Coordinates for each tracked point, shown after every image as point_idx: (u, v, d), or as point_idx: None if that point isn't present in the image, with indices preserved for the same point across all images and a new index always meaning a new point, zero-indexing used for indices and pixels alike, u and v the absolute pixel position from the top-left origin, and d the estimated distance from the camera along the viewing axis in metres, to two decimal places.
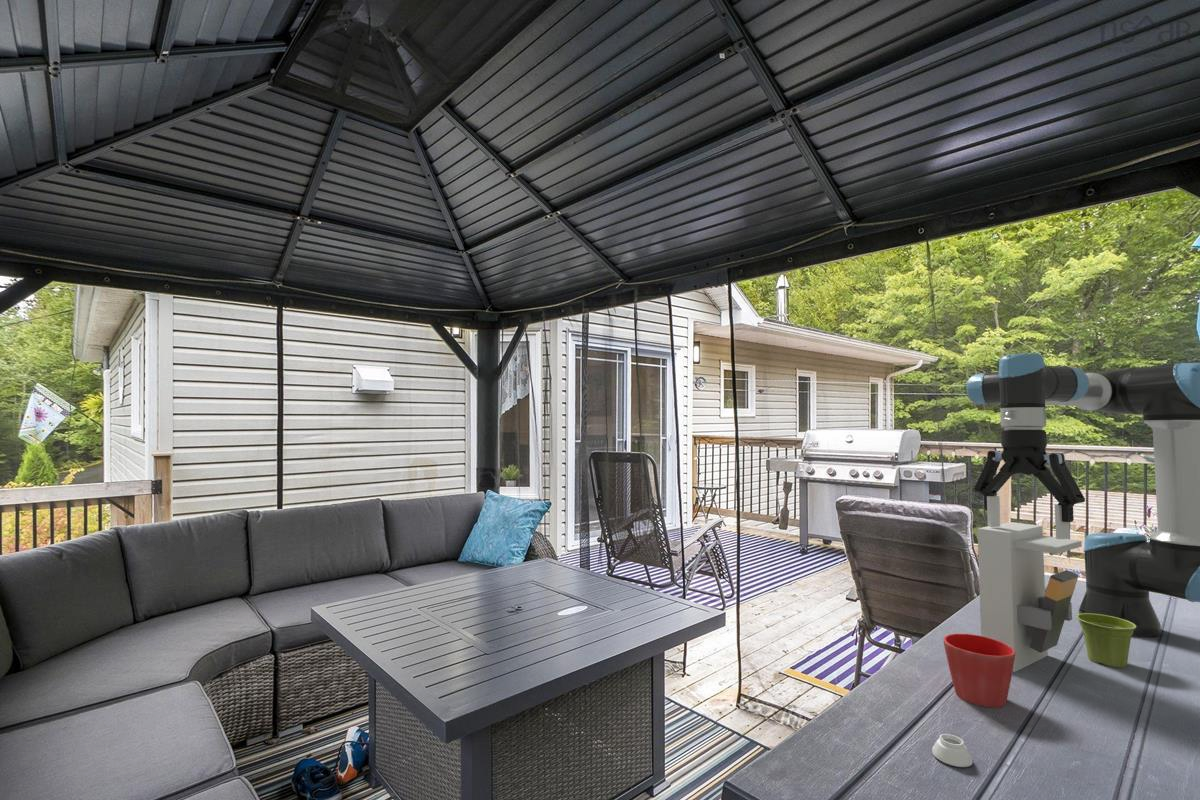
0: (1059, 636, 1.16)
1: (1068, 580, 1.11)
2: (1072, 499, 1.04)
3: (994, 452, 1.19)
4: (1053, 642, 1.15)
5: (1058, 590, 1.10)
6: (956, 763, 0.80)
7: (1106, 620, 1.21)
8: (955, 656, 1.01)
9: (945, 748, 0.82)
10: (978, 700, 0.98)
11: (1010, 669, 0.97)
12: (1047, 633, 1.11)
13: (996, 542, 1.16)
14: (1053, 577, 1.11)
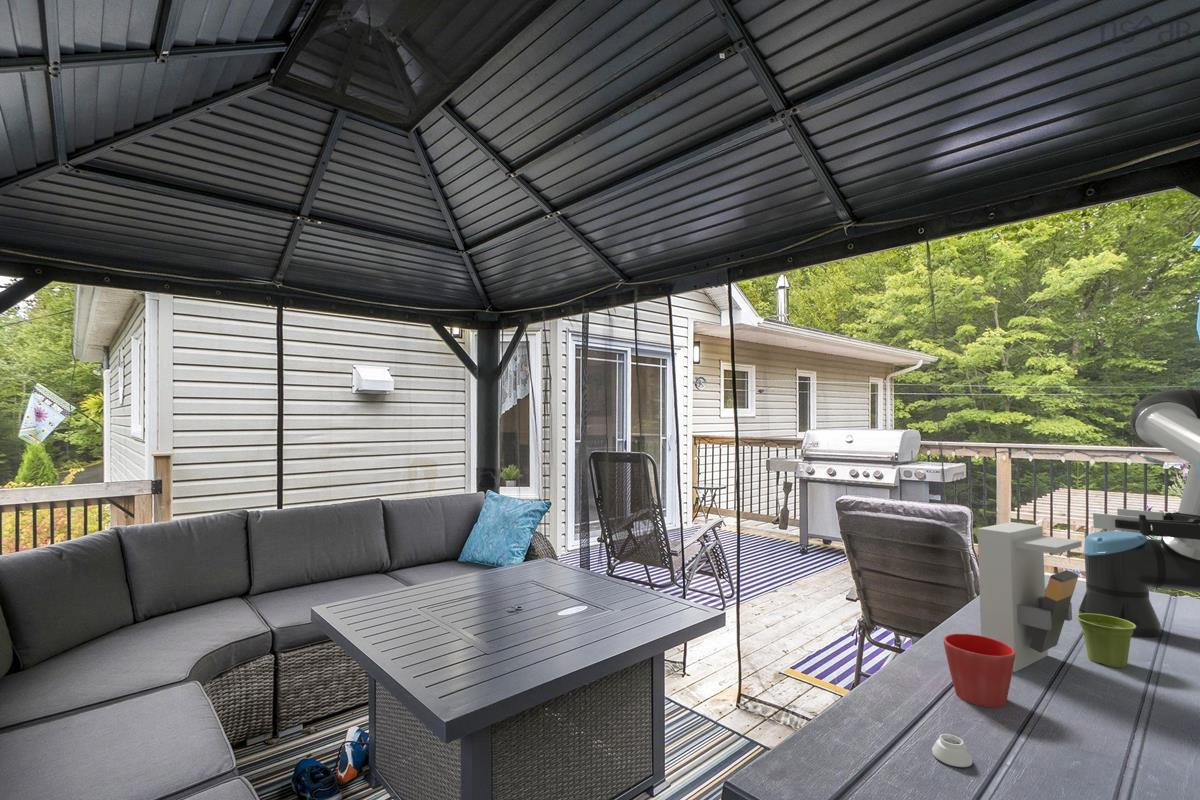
0: (1059, 636, 1.16)
1: (1068, 580, 1.11)
2: None
3: None
4: (1053, 642, 1.15)
5: (1058, 590, 1.10)
6: (956, 763, 0.80)
7: (1106, 620, 1.21)
8: (955, 657, 1.01)
9: (945, 748, 0.82)
10: (978, 700, 0.98)
11: (1010, 669, 0.97)
12: (1047, 633, 1.11)
13: (996, 542, 1.16)
14: (1053, 577, 1.11)
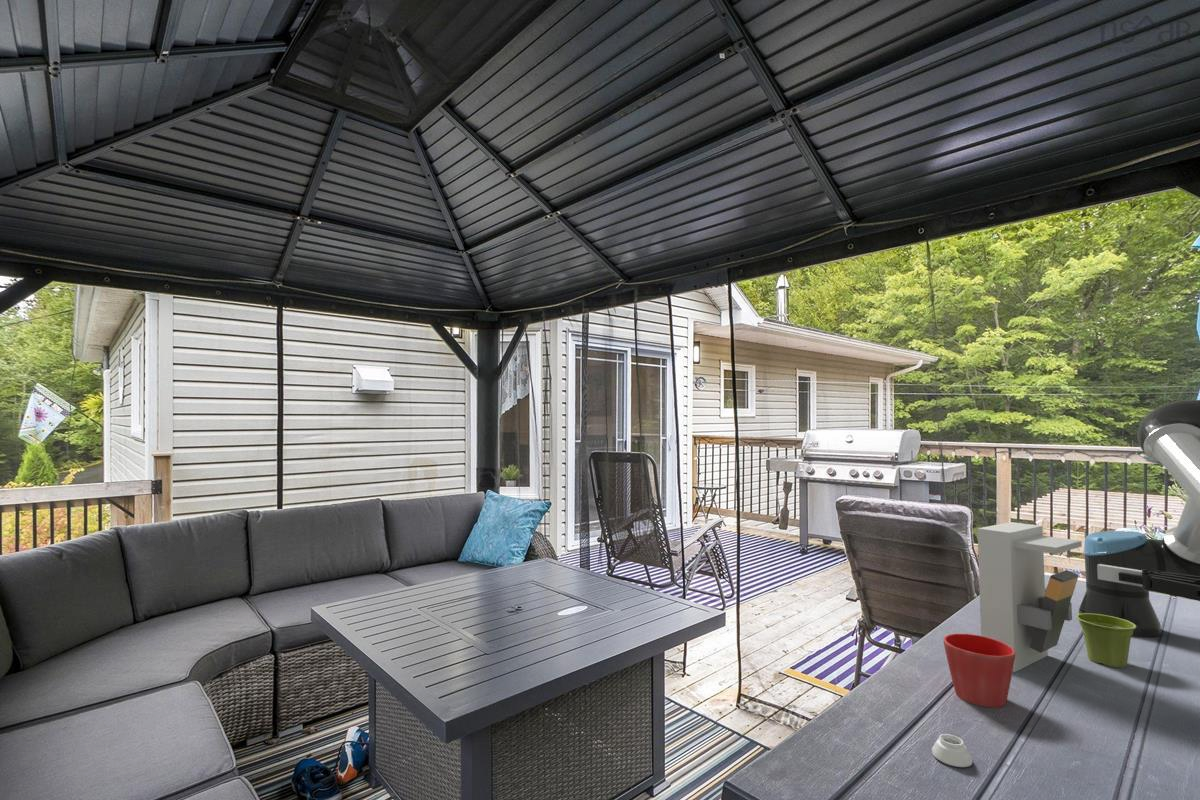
0: (1059, 636, 1.16)
1: (1068, 580, 1.11)
2: None
3: None
4: (1053, 642, 1.15)
5: (1058, 590, 1.10)
6: (956, 763, 0.80)
7: (1106, 620, 1.21)
8: (955, 657, 1.01)
9: (945, 748, 0.82)
10: (978, 700, 0.98)
11: (1010, 669, 0.97)
12: (1047, 633, 1.11)
13: (996, 542, 1.16)
14: (1053, 577, 1.11)
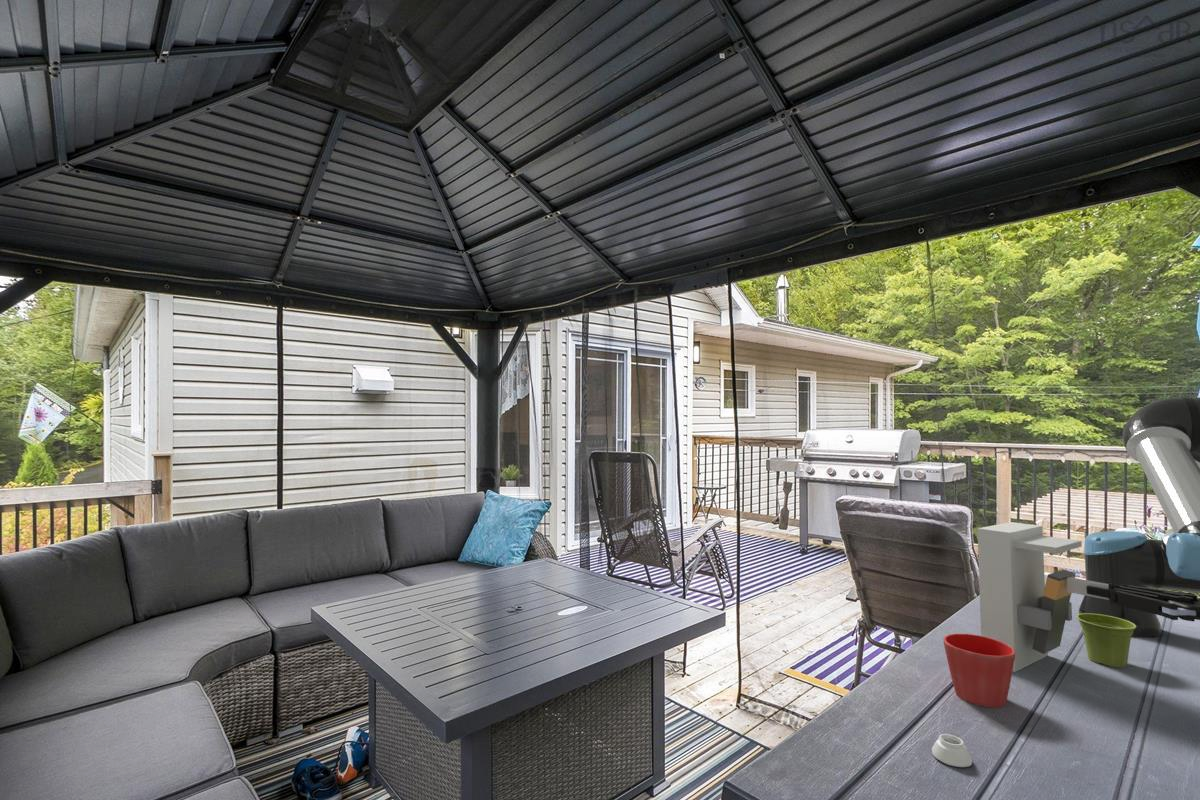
0: (1061, 637, 1.15)
1: (1065, 579, 1.11)
2: None
3: None
4: (1056, 643, 1.14)
5: (1056, 589, 1.10)
6: (956, 763, 0.80)
7: (1106, 620, 1.21)
8: (955, 656, 1.01)
9: (945, 748, 0.82)
10: (978, 700, 0.98)
11: (1010, 669, 0.97)
12: (1048, 633, 1.11)
13: (996, 542, 1.16)
14: (1050, 576, 1.11)
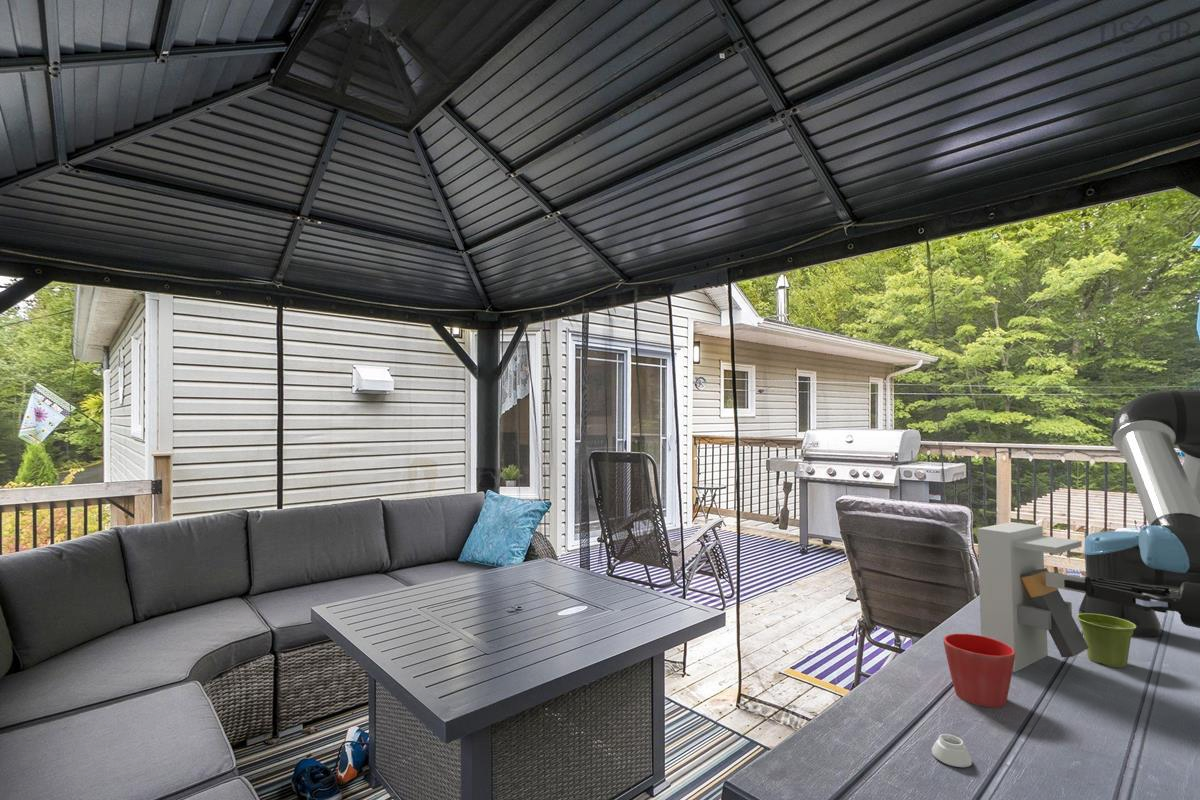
0: None
1: (1038, 573, 1.15)
2: None
3: None
4: (1080, 644, 1.11)
5: (1035, 584, 1.13)
6: (956, 763, 0.80)
7: (1106, 620, 1.21)
8: (955, 656, 1.01)
9: (945, 748, 0.82)
10: (978, 700, 0.98)
11: (1010, 669, 0.97)
12: (1062, 632, 1.09)
13: (996, 542, 1.16)
14: (1023, 575, 1.15)
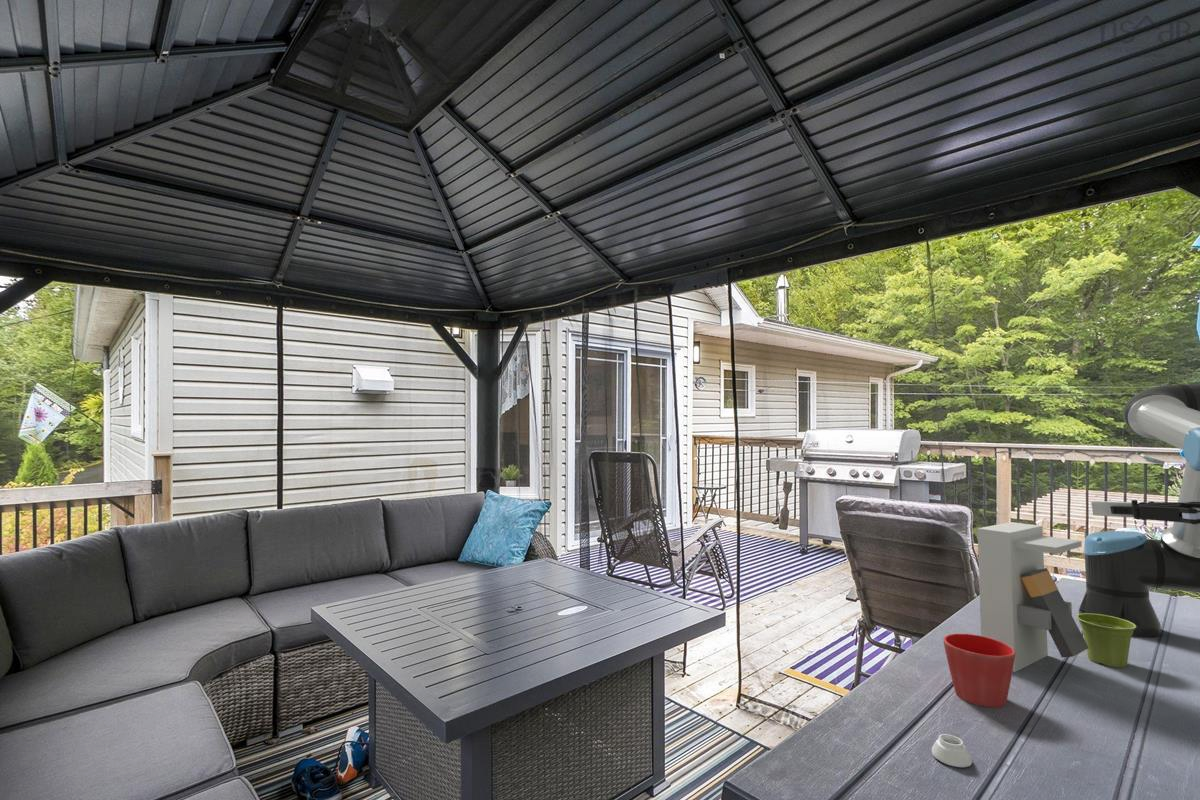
0: None
1: (1038, 573, 1.15)
2: None
3: (1198, 520, 0.94)
4: (1080, 644, 1.11)
5: (1035, 584, 1.13)
6: (955, 763, 0.80)
7: (1106, 620, 1.21)
8: (955, 657, 1.01)
9: (945, 748, 0.82)
10: (978, 700, 0.98)
11: (1010, 669, 0.97)
12: (1062, 632, 1.09)
13: (996, 542, 1.16)
14: (1023, 575, 1.15)
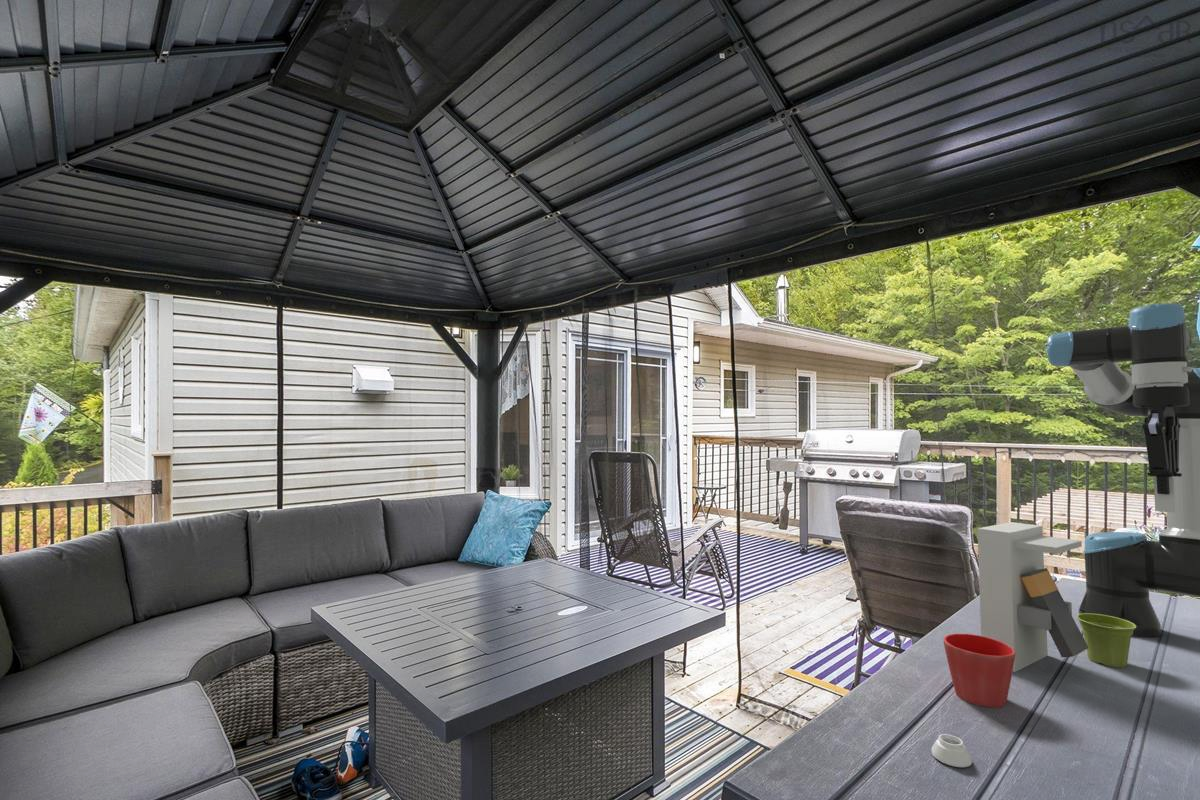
0: None
1: (1038, 573, 1.15)
2: (1178, 469, 1.05)
3: None
4: (1080, 644, 1.11)
5: (1035, 584, 1.13)
6: (955, 763, 0.80)
7: (1106, 620, 1.21)
8: (955, 656, 1.01)
9: (945, 748, 0.82)
10: (978, 700, 0.98)
11: (1010, 669, 0.97)
12: (1062, 632, 1.09)
13: (996, 542, 1.16)
14: (1023, 575, 1.15)
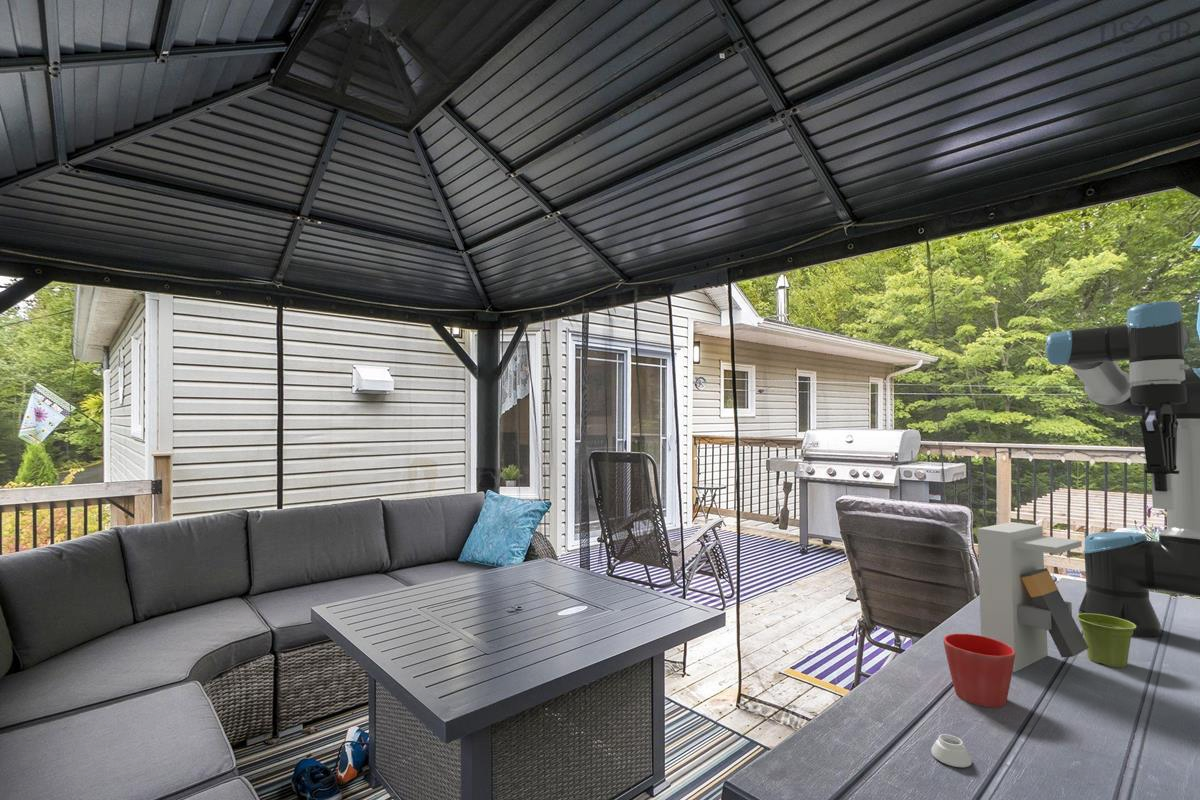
0: None
1: (1038, 573, 1.15)
2: (1176, 466, 1.05)
3: None
4: (1080, 644, 1.11)
5: (1035, 584, 1.13)
6: (955, 763, 0.80)
7: (1106, 620, 1.21)
8: (955, 656, 1.01)
9: (944, 748, 0.82)
10: (978, 700, 0.98)
11: (1010, 669, 0.97)
12: (1062, 632, 1.09)
13: (996, 542, 1.16)
14: (1023, 575, 1.15)
